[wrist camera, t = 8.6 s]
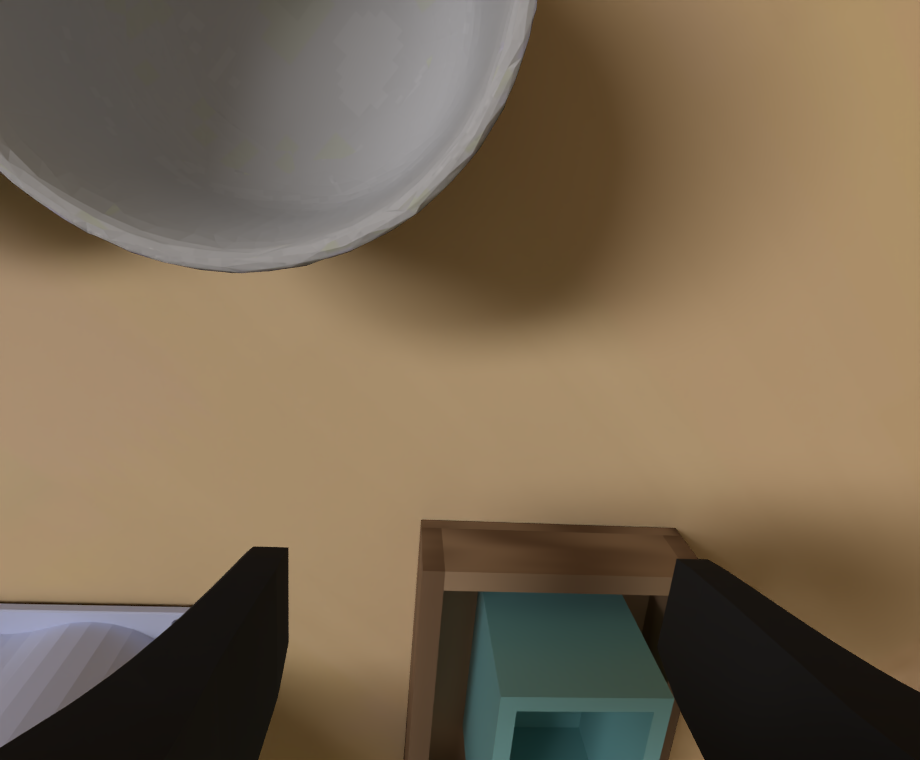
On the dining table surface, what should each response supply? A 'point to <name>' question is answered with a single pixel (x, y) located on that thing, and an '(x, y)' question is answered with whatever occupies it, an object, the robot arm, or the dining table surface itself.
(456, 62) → the teacup
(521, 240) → the dining table surface
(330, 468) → the dining table surface
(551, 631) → the teal crate
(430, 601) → the walnut crate
